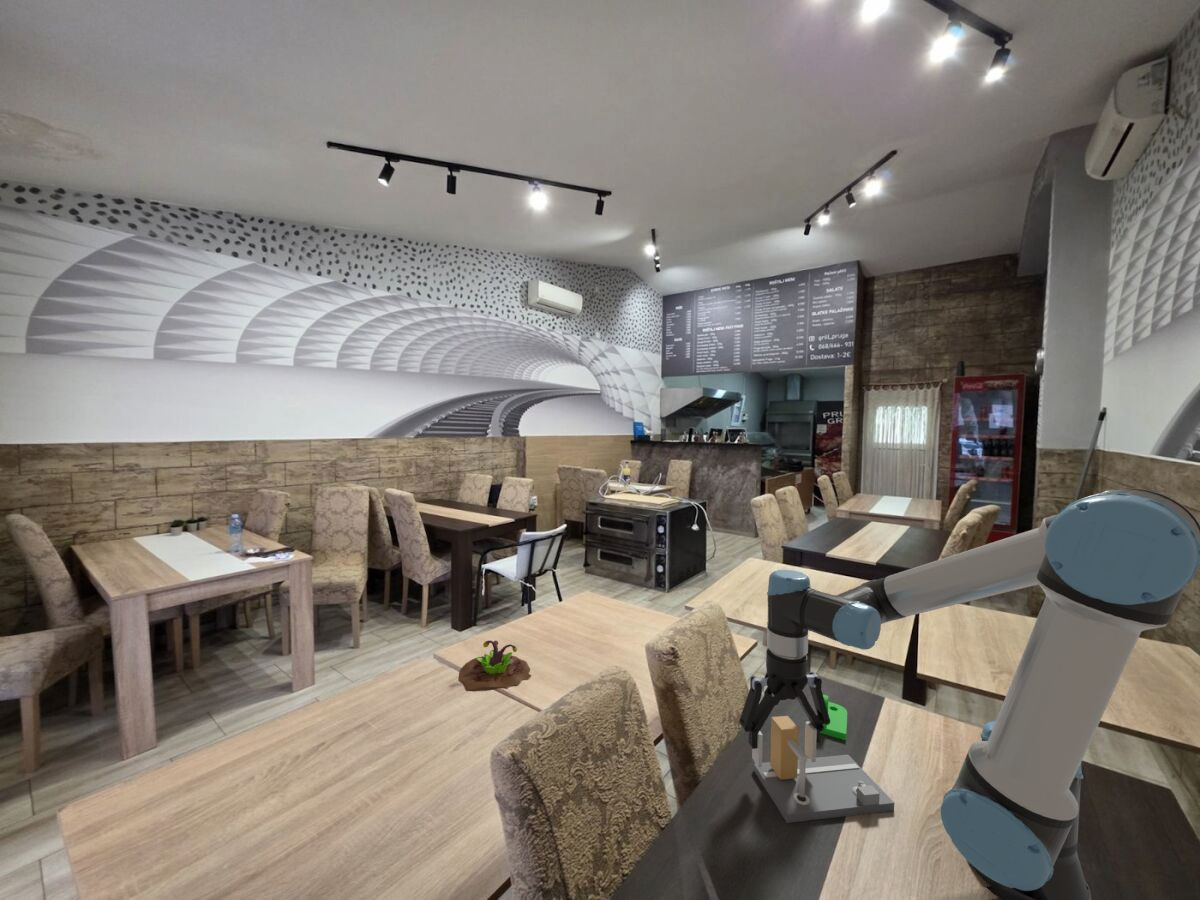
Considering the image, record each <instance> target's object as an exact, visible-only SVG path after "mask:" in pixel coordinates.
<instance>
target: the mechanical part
mask: <svg viewBox="0 0 1200 900" xmlns="http://www.w3.org/2000/svg"><path fill="white" fill-rule="evenodd" d="M823 697H824V701H825V704H826V708H827V711H828V715H829V718H830V724H828V725H826V724H824V725H823V726H824V730H823V731H820V734H823V735H827V736H829V737H832V738H836V739H840V740H843V741H847V729H848V727H847V726H848V710H847V709H846V708H845V707H843V706H842V705H840V704H839V703H838V704H837V703H834V702H831V701H830V700H829V699H830V698H829V695H827V694H823Z"/></svg>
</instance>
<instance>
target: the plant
mask: <svg viewBox="0 0 1200 900" xmlns="http://www.w3.org/2000/svg"><path fill="white" fill-rule="evenodd" d="M482 644H483V645H482V646H483V648H487V647H489V645H490V644H492V647H493V649H491V650H490V652H489V654H487V653H485V654H484V655H483V656H478V657H474V658H473V659H471V660H469V661H468V662H465V663H464V665H463V666H462V667H461V668H460V670H459V671H458V682H459V683H462V684H463V685H464V688H465V690H466V691H467V692H477V691H478V692H479V691H492V690H496V689H503V690H504V689H506V690H509V688H511V687H518V686H520V684H521V682H522V681H529V680H530V678H532V674H530V673H531V668H530V666H529V664H528V662H527V661H526V660H524V659H521V658H519V657H518V656H515V655H513V653H516V652H517V651H518V647H517V646H516V645H514V644H506V645H504V646H503V647H502V648H501V649H500V650H499V648H498V646H499V641H498V640H494V641H493V640H485V641H484V642H483V643H482ZM509 647H511V648H512V651H513V652H508V653H506V654H504V653H505V651H506V649H508V648H509Z"/></svg>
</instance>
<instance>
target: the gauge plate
mask: <svg viewBox="0 0 1200 900" xmlns="http://www.w3.org/2000/svg"><path fill="white" fill-rule="evenodd" d="M753 771H754V774H755V775H756V776H757V778H758V780H759V782H760V783H761V784H762V787H764V789H765V791H766V793H767V794H768V796H769V797H770V800H772V801H773V804H774V805H775V806H776V808H777V809H778V811H779V813H780V815H781V816H782V817H783V819H784V821H785V823H787V824H790V823H798V822H799V823H801V822H805V821H806V822H808V821H815V820H816V821H817V820H825V819H834V818H842V817H851V816H858V815H859V816H860V815H867V814H868V815H869V814H877V813H886V812H894V811H895V802H894V801H893V800H892V799H891V797H890V796H889V795H888V794H886V792H885V791H884V790H883V789H882V788H881V787H880V786H879V785H878V784H877V783H876V782H875V780H873V779H872V778H871V776H869V774H867V772H865V770H864V769H862V767H861V766H859V764H858V763H857V762H856V761H855V760H854V759H853V758H852V756H850V755H849V754H840V755H831V756H819V757H817V756H816V762H812V761H811V760H810V759H809V758H808V757H807V762H806V768H805V796H804V797H801V796H799V771H800V759H799V758H798V768H797V778H792V779H782V780H780V778H779V777H778V776H777V774H776V773H775V771H774V770H773V768H772V767H771V766H770V761H767V762H762V767H758V766H757V765H756V763H755V762H754V763H753Z"/></svg>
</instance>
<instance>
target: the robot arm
mask: <svg viewBox="0 0 1200 900" xmlns="http://www.w3.org/2000/svg"><path fill="white" fill-rule="evenodd" d="M1199 567H1200V523H1199V521H1198V520H1197V518H1196V516H1194V514H1193V513H1192V512H1191V510H1189V509H1188V508H1187V507H1186V506H1184V505H1183V504H1182V503H1180V502H1179V501H1177V500H1175V499H1173V498H1172V497H1169V496H1167V495H1165V494H1163V493H1160V492H1157V491H1153V490H1150V489H1149V490H1148V489H1144V488H1135V487H1133V488H1132V487H1122V488H1120V487H1119V488H1112V489H1106V490H1104V491H1100V492H1098V493H1095V494H1092V495H1089V496H1086V497H1082V498H1080V499H1078V500H1075V501H1074V502H1071V503H1069V504H1068V505H1067V506H1066V507H1064V508H1063V509H1062V510H1060V511H1059V512H1058V513H1056V514H1053V515H1050V516H1047V517H1044V518H1042V521H1041V524H1040V526H1039V527H1036V528H1032V529H1031V530H1026V531H1024V532H1020V533H1017V534H1015V535H1014V534H1013V535H1012V536H1009V537H1006V538H1003V539H999V540H996V541H993V542H990V543H987V544H984V545H981V546H977V547H974V548H971V549H968V550H965V551H962V552H959V553H956V554H953V555H949V556H947V557H944V558H941V559H936V560H934V561H931V562H928V563H924V564H921V565H919V566H916V567H912V568H909V569H906V570H903V571H899V572H898V573H894V574H890V575H888V576H885V577H882V578H878V579H872V580H871V579H870V580H868V581H867V582H863V583H861V584H860V585H859V586H856V587H853V588H850V589H848V590H845V591H843V592H841V593H838V594H831V593H826V592H824V591H820V590H817V589H815V588H811V587H812V586H811V580H810V577H809V575H807V574H806V573H805V574H804V572H801V571H797V570H792V569H779V570H778V569H777V570H775V571H774V570H773V572H771V573H770V574H769V576H768V587H767V592H766V593H767V594H766V595H767V622H766V623H767V625H766V647H767V648H766V650H765V651H766V652H765V657H766V658H765V659H766V660H765V666H766V667H765V669H766V674H765V675H764V677H760V678H757V677H756V676H754V675H752V676H750V679H749V681H750V682H749V683H750V686H749V687H750V688H749V691H748V694H747V697H746V700H745V702H744V706H743V709H742V712H741V715H740V718H739V720H738V722H739V724H740V726H741V727H742V728H743V730H744V731H745V732H747V733H748V741H747V742H748V744H749V746H750V747H751V750H752V751H751V758H752V760H753V761H754V764H755V763H756V765H757V766H758V767H762V763H763V743H764V742H763V741H764V739H763V737H764V735H763V733H762V731H761V729H762V728H763V726H764V724H765V723H766V721H767V720H768V718H769V716H770V714H771V712H772V711H773V709H774V708H775V706H778V705H779V703H780V702H781V701H786V700H791V701H792V700H797V701H798V704H799V705H800V706H801V708H802V710H803V712H804V713H805V715H806V716H807V718H808V719H809V721H805V727H804V753H805V755H806V756H807V758H809V759H810V760H811V761H812V762H816V758H817V744H818V743H820V741H821V733H820V731H823V730H824V726H823V725H824V724H826V725H828V724H830V718H829V715H828V711H827V708H826V704H825V701H824V697H823V695H824V694H823V690H822V683H823V682H822V678H820V677H819V676H818V675H817V674H816V673H815V672H813V671H811V672H810V673H809V674H808V655H807V654H808V653H809V632H812V633H815V634H818V635H820V636H822V637H825V638H828V639H831V640H833V641H835V642H839V643H840V644H842V645H844V646H848V647H853V648H856V649H859V650H863V651H864V650H865V651H866V650H870V649H872V648H873V647H874V646H875V644H876V642H877V641H878V639H880V638H879V637H880V634H881V630H882V628H881V626H882V624H886V623H889V622H893V621H896V620H901V619H903V618H907V617H912V616H915V615H918V614H923V613H927V612H931V611H936V610H940V609H944V608H947V607H952V606H955V605H959V604H963V603H967V602H971V601H972V602H973V601H975V600H981V599H983V598H988V597H992V596H996V595H1000V594H1005V593H1008V592H1013V591H1017V590H1020V589H1025V588H1028V587H1033V586H1037V585H1039V587H1040V588H1041V589H1042V592H1043V593H1044V594H1045V598H1044V600H1043V603H1042V605H1041V607H1040V611H1039V612H1038V615H1037V618H1036V619H1035V623H1034V626H1033V627H1032V631H1031V632H1030V635H1029V638H1028V640H1027V643H1026V645H1025V648H1024V650H1023V653H1022V655H1021V656H1020V657H1021V658H1020V660H1019V662H1018V665H1017V667H1016V670H1015V673H1014V675H1013V677H1012V679H1011V682H1010V685H1009V687H1008V690H1007V692H1006V695H1005V698H1004V700H1003V703H1002V706H1001V707H1000V710H999V713H998V715H997V717H996V720H994V721H988V722H987V723H984V725H983V726H982V727H983V728H982V731H981V733H980V738H981V741H980V740H979V741H976V742H973V743H972V744H971V745H970V747H969V748H968V750H967V753H966V755H965V758H964V761H963V763H962V765H961V768H960V771H959V774H958V776H957V779H956V780H955V783H954V784H953V786H952V788H951V789H949V790H947V792H945V793H944V796H943V799H942V803H941V806H940V819H941V823H942V825H943V828H944V830H945V832H946V834H947V835H948V837H950V839H951V843H952V844H953V846H954V847H955V849H957V851H958V852H959V853H960V855H962V856H963V858H964V859H965V860H966V861H968V863H969V865H970V866H971V867H972V868H973V870H974V871H975V873H977V874H978V876H979V877H981V879H982V880H983V881H984V882H986V884H988V885H987V886H986V888H987V889H988V890H989V891H990V892H992V893H993V894H994V895H995V896H996V897H998V898H1000V899H1001V900H1092V894H1091V889H1090V887H1089V885H1088V883H1087V880H1086V878H1085V876H1084V873H1083V869H1082V865H1081V861H1080V858H1079V855H1078V839H1079V837H1078V835H1079V821H1080V820H1079V819H1080V803H1081V786H1082V785H1081V784H1082V782H1081V781H1082V780H1083V779H1084V775H1083V771H1082V761H1083V759H1084V757H1085V756H1086V753H1087V750H1088V748H1089V746H1090V744H1091V743H1092V740H1093V738H1094V735H1095V733H1096V731H1097V729H1098V727H1099V725H1100V722H1101V720H1102V718H1103V716H1104V714H1105V711H1106V710H1107V707H1108V705H1109V703H1110V701H1111V698H1112V697H1113V694H1114V692H1115V690H1116V688H1117V685H1118V683H1119V681H1120V679H1121V677H1122V675H1123V672H1124V671H1125V668H1126V666H1127V664H1128V661H1129V659H1130V657H1131V654H1132V653H1133V651H1134V648H1135V647H1136V644H1137V642H1138V640H1139V638H1140V635H1141V633H1142V632H1144V631H1147V630H1148V631H1149V630H1154V629H1159V628H1165V627H1166V626H1168V623H1169V622H1170V619H1171V617H1172V615H1173V613H1174V611H1175V609H1176V607H1177V605H1178V603H1179V601H1180V599H1181V597H1182V595H1183V592H1184V590H1185V588H1186V586H1187V584H1189V583H1191V582H1192V580H1193V579H1194V577H1195V576H1196V574H1197V572H1198V570H1199ZM807 685H808V687H809V691H810V694H811V696H812V697H811V698H812V701H813V704H814V707H815V708H814V709H815V711H816V713H815V711H814V709H813V707H812V706H811V704H810V702H809V700H808V698H807V696H806V694H805V692H804V691H803V690H804V689H805V687H806V686H807ZM765 687H766V689H765ZM762 693H763V695H762ZM762 696H763V697H762Z"/></svg>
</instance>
